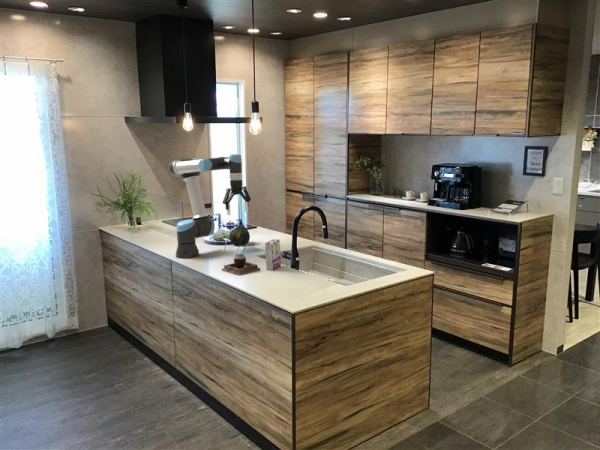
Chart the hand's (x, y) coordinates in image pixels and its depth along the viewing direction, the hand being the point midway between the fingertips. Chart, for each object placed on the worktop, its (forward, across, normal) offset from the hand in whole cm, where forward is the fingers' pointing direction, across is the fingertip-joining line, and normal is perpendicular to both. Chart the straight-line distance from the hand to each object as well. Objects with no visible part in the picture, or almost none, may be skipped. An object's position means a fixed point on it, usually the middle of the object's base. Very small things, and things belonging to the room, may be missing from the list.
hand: (237, 213), depth 323 cm
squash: (+31, +28, +37) cm, 56 cm away
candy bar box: (+30, +3, -30) cm, 43 cm away
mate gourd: (+29, -13, -19) cm, 37 cm away
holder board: (+30, -13, -19) cm, 38 cm away
